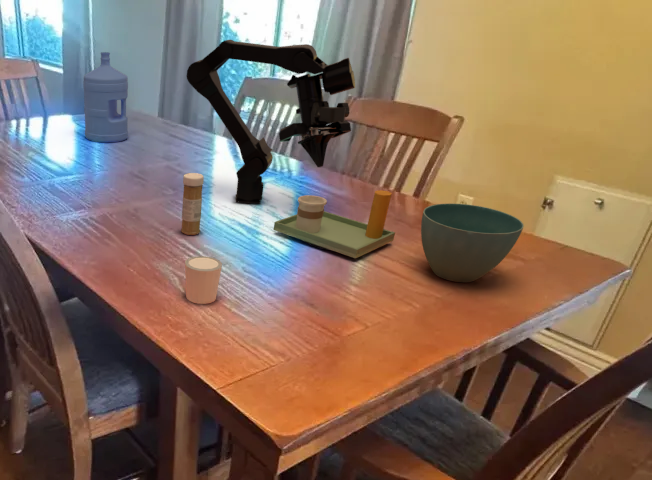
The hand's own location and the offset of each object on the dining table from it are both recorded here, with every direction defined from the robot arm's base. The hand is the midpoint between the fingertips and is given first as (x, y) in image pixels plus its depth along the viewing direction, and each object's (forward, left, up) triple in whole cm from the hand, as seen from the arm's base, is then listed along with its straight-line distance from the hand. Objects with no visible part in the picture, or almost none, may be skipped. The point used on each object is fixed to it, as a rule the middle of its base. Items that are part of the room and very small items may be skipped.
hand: (320, 166), depth 149 cm
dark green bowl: (+26, -32, -13) cm, 43 cm away
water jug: (-66, +74, -13) cm, 100 cm away
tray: (+3, -16, -12) cm, 20 cm away
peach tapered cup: (-26, -51, -13) cm, 59 cm away
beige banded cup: (-3, -15, -11) cm, 18 cm away
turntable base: (+3, -16, -12) cm, 20 cm away
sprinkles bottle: (-30, -17, -13) cm, 37 cm away
